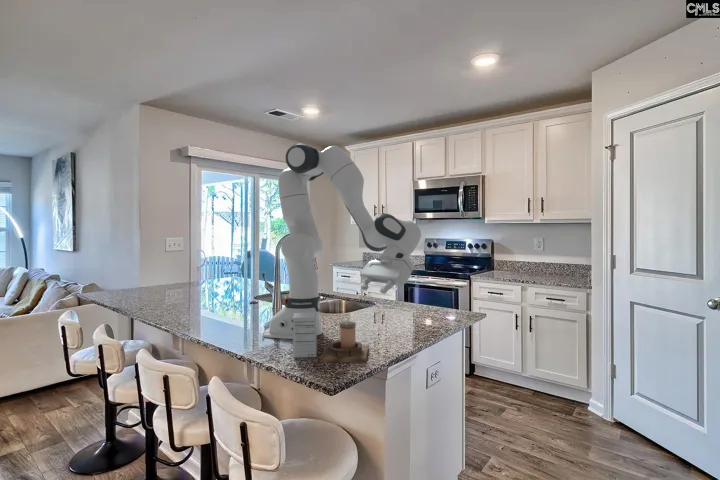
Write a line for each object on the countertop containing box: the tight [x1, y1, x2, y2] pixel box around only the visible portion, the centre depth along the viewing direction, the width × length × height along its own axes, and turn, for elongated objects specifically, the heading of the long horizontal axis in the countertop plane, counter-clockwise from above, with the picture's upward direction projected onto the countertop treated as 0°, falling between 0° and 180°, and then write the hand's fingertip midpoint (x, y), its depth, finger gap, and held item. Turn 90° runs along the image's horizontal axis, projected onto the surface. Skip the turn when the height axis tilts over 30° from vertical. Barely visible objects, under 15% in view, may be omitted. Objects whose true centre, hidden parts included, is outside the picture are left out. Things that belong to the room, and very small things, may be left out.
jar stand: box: [318, 340, 370, 364], centre depth 124 cm, size 14×14×3 cm
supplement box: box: [292, 313, 318, 359], centre depth 125 cm, size 7×7×13 cm
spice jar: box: [339, 321, 357, 349], centre depth 124 cm, size 5×5×9 cm
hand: (372, 290), depth 131 cm, fingers open, 8 cm apart
